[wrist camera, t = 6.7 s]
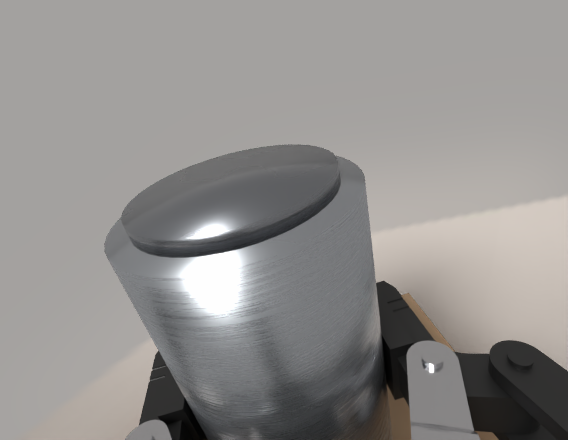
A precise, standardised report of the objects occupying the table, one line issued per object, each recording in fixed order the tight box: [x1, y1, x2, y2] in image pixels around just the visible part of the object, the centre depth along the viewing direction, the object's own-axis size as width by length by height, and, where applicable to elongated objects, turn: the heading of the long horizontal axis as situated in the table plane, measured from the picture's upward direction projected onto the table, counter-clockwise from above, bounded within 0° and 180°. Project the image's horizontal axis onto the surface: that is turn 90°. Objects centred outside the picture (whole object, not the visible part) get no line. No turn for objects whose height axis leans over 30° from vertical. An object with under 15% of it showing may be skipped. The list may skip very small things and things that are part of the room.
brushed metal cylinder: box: [104, 145, 393, 440], centre depth 11 cm, size 6×6×15 cm
